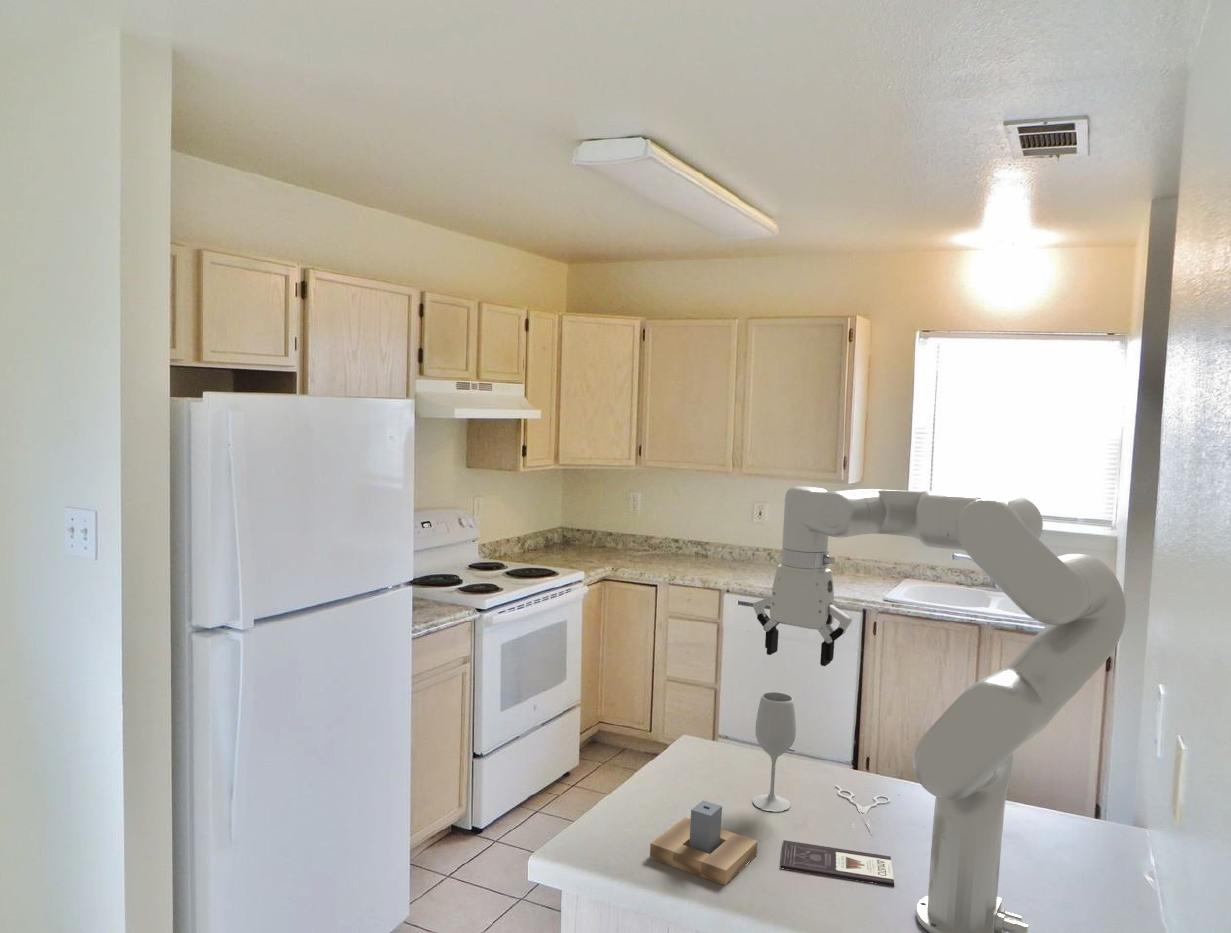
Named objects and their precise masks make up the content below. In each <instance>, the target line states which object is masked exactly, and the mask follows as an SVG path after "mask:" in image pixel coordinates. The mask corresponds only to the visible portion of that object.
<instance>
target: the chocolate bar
mask: <svg viewBox="0 0 1231 933" xmlns="http://www.w3.org/2000/svg"><path fill="white" fill-rule="evenodd" d="M781 849H782V851H781V860H780V869H781V868H784V869H783V870H786V869H789V870H788V871H793V870H794V872H799V871H800V872H799V873H806V874H812V875H818V876H824V877H831V878H838V879H842V880H849V881H850V880H851V881H855V880H858V881H857V882H861V881H864V882H863V883H867V882H873V883H872V884H874V883H877V884H876V885H880V884H881V885H882V886H886V887H893V888H894V887H895V879H894V878H895V877H894V871H893V870H894V869H893V866H892V865H893V863H892V857H891V856H890V855H883V854H876V853H871V852H864V851H858V850H857V851H856V850H850V849H844V848H843V849H842V848H837V847H830V846H824V845H818V844H811V843H804V842H798V841H792V840H785V839H783V841H782V848H781Z"/></svg>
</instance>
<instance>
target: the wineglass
mask: <svg viewBox="0 0 1231 933" xmlns="http://www.w3.org/2000/svg"><path fill="white" fill-rule="evenodd" d="M796 722H797V721H796V710H795V702H794V698H793V696H792V695H790V694H788V693H785V692H779V691H767V692H764V693H762V694H761V697H760V701H759V704H758V709H757V714H756V720H755V738H756V741H757V743H758V744H759V745H760V747H761V749H762V750H763V751H765V753H766V754H767V755H768V756H769V757H770V760H771V770H770V771H771V772H770V785H769V786H770V789H769V793H768V794H759V795H756V796H754V797H753V799H752V804H753V803H754V805H755V806H757V807H759V808H761V809H770V810H775V811H778V810H779V811H781V810H785V809H788V810H790V809H791V802H790V801H789V800H788V799H786V798H785V797H781V796H779V795H776V794H775V780H776V778H775V777H776V765H777V764H776V762H777V761H778V760H777V759H778V757H780V756H782V755H783V754H784V753H785V754H786V752H787V751H788V750H789V749H790V748H791V747H792V746H793V745H794V742H795V740H796V736H797V723H796ZM754 805H753V806H754ZM755 806H754V807H755ZM757 807H756V808H757ZM761 809H760V810H761Z"/></svg>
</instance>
